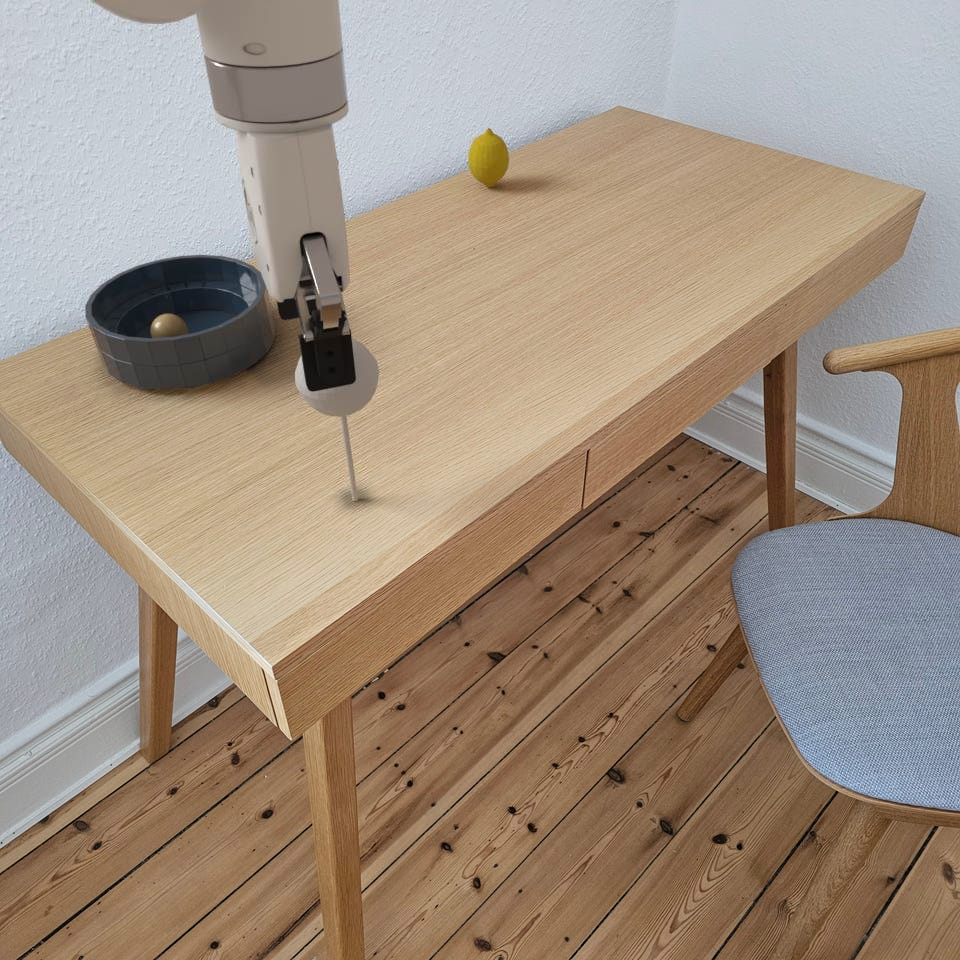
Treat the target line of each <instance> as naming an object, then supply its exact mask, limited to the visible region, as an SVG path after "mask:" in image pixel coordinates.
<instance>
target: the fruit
mask: <svg viewBox="0 0 960 960" xmlns="http://www.w3.org/2000/svg"><path fill="white" fill-rule="evenodd" d="M467 155H468V156H467V163H468V168H469V172H470V173H471V175H472V176H473V178H474V179H475V180H476V181H478V182H479V183H481V184H483V186H485V187H486V188H493V187H495V186H496V184H497V183H498V182H499V181H501V180H502V179H503V177H504V176H505V175H506V173H507V171H508V169H509V165H510V156H509V150H508V147H507V144H506V142H505V140H504V139H503V138H502V137H501V136H500V135H498V134H495V133H494V131H493V130H492V129H491V128H490V127H488V128H487V129H486V130H485V131H484V133H482V134H479V135H478V136H476V137H475V138H474V139H473V140H472V142H471V144H470V147H469V150H468V154H467Z"/></svg>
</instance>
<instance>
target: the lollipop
mask: <svg viewBox="0 0 960 960" xmlns="http://www.w3.org/2000/svg"><path fill="white" fill-rule="evenodd" d="M352 346H353V355H354V364H355V374H356V381H355V382H354V383H353V384H350V385H345V386H340V387H335V388H330V389H325V390H320V391H315V392H311V391H309V390H308V388H307V386H306V382H305V376H304V369H303V363H302V356H301V355H300V356H299V359H298V362H297V364H296V367H295V371H294V381H295V387H296V389H297V391H298V392H299V393H300V395H301V397H302V398H303V400H304V401H305V402H306V404H308V405H309V406H310V407H311V408H312V409H313V410H314V411H316V412H318V413H321V414H322V415H325V416H329V417H337V418H340V424H341V431H342V438H343V444H344V452H345V459H346V465H347V471H348V477H349V478H348V479H349V485H350V491H351V498H352V499H351V500H352V501H354V502H357V501H359V495H358V489H357V487H358V486H357V481H356V480H357V479H356V474H355V467H354V460H353V454H352V445H351V439H350V438H351V437H350V432H349V431H350V430H349V425H348V418H347V416H351V415H353V414H357V412H360V411H361V410H363V409H365V407H366V406H367V405H368V404H369V403H370V402H371V401H372V399H373V397H374V395H375V393H376V391H377V389H378V383H379V376H380V368H379V363H378V361H377V359H376V357H375V356H374V354H372V352H371V351H370V350H369V349H368V348H367V347H366V345H364V344H363V343H361V341H359V340H357V339H355V338H353V337H352Z"/></svg>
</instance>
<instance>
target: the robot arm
mask: <svg viewBox="0 0 960 960" xmlns="http://www.w3.org/2000/svg"><path fill="white" fill-rule="evenodd" d="M89 1H90V2H92V3H93V4H95V5H97V6H98V7H100V8H101V9H103V10H104V11H106V12H109V13H110V14H112V15H115V16H116V17H119V18H121V19H123V20H124V19H125V20H127V21H131V22H135V23H138V24H146V25H148V24H149V25H151V24H152V25H164V24H171V23H176V22H177V23H178V22H180V21H182V20H185V19H187V18H190V17H192V16H194V15H195V17H196V22H197V27H198V32H199V37H200V42H201V48H202V52H203V59H204V64H205V70H206V73H207V80H208V85H209V90H210V91H209V92H210V96H211V101H212V106H213V111H214V112H213V113H214V116H215V120H216V121H217V122H218V124H220V125H221V126H224V127H226V128H228V129H231V130H234V138H235V145H236V147H235V148H236V155H237V160H238V161H237V162H238V167H239V174H240V180H241V186H242V193H243V199H244V205H245V211H246V218H247V225H248V234H249V239H250V240H249V241H250V246H251V249H252V252H253V255H254V258H255V261H256V264H257V266H258V270H259V271H260V272H261V275H262V277H263V280H264V282H265V285H266V288H267V290H268V295H269V297H271V298H272V299H273V300H274V301H276V305H277V311H278V315H279V317H280V319H281V320H282V321H289V320H294V319H299V323H300V327H301V332H302V333H300V334H299V333H298V334H297V336H298V343H299V349H300V357H301V356H302V363H303V369H304V376H305V382H306V386H307V388H308V390H309V391H311V392H315V391H320V390H325V389H330V388H335V387H340V386H345V385H350V384H353V383H354V382H355V381H356V374H355V364H354V355H353V346H352V338H353V337H352V329H351V327H350V323H349V318H348V314H347V310H346V306H345V302H344V297H343V292H345V291H346V290H347V288H348V287H349V285H350V282H351V274H350V272H351V271H350V270H351V269H350V257H349V256H350V255H349V245H348V234H347V225H346V217H345V208H344V207H345V206H344V200H343V199H344V198H343V193H342V184H341V177H340V168H339V166H340V164H339V163H340V162H339V159H338V157H337V155H338V153H337V147H336V142H335V134H334V133H335V132H334V127H333V124H335V123H337V122H339V121H341V120H343V119H344V118H345V117H347V115H348V113H349V110H350V109H349V100H348V91H347V90H348V89H347V88H348V87H347V79H346V67H345V58H344V57H345V56H344V47H343V43H344V42H343V34H342V33H343V32H342V23H341V11H340V1H339V0H89Z"/></svg>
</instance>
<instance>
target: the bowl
mask: <svg viewBox="0 0 960 960" xmlns="http://www.w3.org/2000/svg"><path fill="white" fill-rule="evenodd" d="M84 312H85V313H84V314H85V316H84V317H85V320H86V323H87V325H88V327H89V331H90V333H91V336H92V339H93V341H94V344H95V347H96V349H97V352H98V355H99V358H100V360H101V364H102V365H103V367H104V368H105V370H106V371H107V373H108V374H109V375H110V376H111V377H113V378H114V379H116V380H118V381H119V382H121V383H123V384H125V385H128V386H132V387H135V388H139V389H146V390H158V391H171V390H186V389H192V388H198V387H202V386H206V385H211V384H216V383H218V382H220V381H223V380H226V379H229V378H232V377H234V376H236V375H238V374H240V373H241V372H243V371H245V370H247V369H249V368H251V367H252V366H253V365H255V364H256V363H257V362H258V361H259V360H261V358H263V357H265V355H266V354H267V353H268V351H270V349H271V347H272V346H273V344H274V342H275V336H276V330H277V329H276V325H275V321H274V316H273V311H272V305H271V300H270V294H269V292H268V290H267V288H266V285H265V282H264V280H263V277H262V275H261V272H260V270H259V269H257V267H256V266H254V265H252V264H250V263H247V262H245V261H243V260H241V259H237V258H234V257H229V256H225V255H213V254H212V255H211V254H191V255H190V254H189V255H179V256H178V255H177V256H173V257H172V256H171V257H166V258H160V259H156V260H152V261H148V262H145V263H142V264H139V265H135V266H133V267H131V268H129V269H127V270H123V271H121V272H119V273H117V274H116V275H114V276H112V277H111V278H109V279H108V280H106V281H104V282H103V283H101V284H100V285H99V286H98V287H97V288H96V289H95V290H94V291H93V292H92V293H91V294H90V295H89V298H88V300H87V302H86V304H85V305H84ZM162 314H174V315H177V316H179V317H180V318H182V319H183V320H184V321H185V323H186V324H187V327H188V332H189V334H186V335H181V336H176V337H163V338H152V337H151V332H150V329H151V325H152V323H153V321H154V320H155V319H156V318H157V317H158V316H160V315H162Z"/></svg>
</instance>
